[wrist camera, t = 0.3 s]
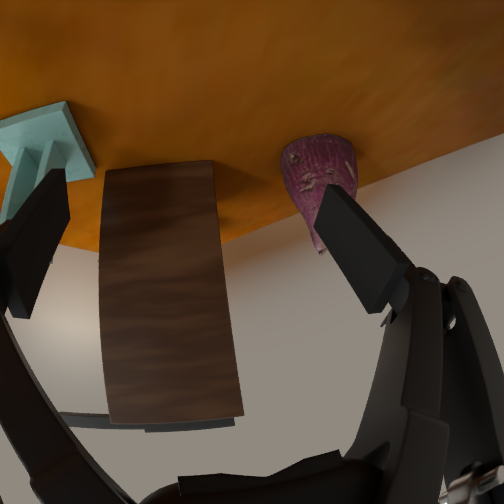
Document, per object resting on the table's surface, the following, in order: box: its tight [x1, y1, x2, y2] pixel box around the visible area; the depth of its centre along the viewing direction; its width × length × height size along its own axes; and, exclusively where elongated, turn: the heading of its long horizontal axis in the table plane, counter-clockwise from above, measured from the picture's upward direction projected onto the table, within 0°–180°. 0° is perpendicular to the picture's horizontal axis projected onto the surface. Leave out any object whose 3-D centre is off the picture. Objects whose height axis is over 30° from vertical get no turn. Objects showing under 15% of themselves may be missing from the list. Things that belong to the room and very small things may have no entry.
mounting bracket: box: [0, 101, 96, 264], centre depth 25 cm, size 12×10×14 cm
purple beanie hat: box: [281, 134, 358, 256], centre depth 39 cm, size 10×10×15 cm
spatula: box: [58, 412, 235, 432], centre depth 31 cm, size 7×23×2 cm, turn 83°
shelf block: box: [99, 160, 244, 424], centre depth 37 cm, size 12×14×30 cm
